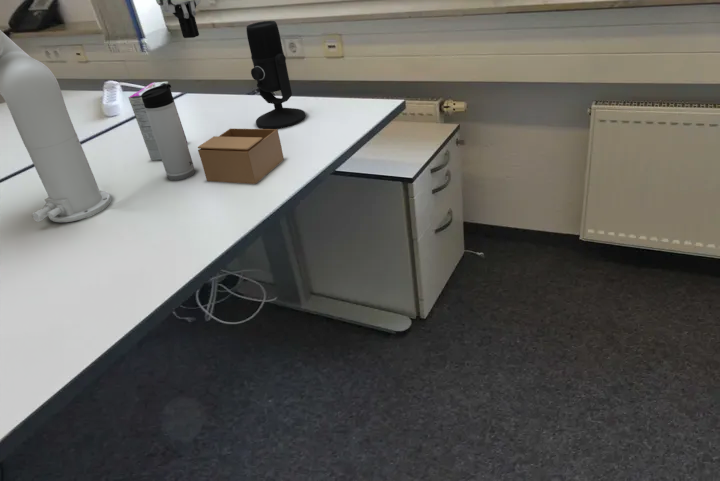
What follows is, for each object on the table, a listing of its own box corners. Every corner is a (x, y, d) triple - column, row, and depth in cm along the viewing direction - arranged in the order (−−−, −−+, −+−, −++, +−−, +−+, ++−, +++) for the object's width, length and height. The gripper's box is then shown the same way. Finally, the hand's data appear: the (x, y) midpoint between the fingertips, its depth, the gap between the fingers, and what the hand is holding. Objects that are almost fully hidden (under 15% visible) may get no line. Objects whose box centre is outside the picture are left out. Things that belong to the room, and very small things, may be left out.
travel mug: (202, 171, 130) (176, 85, 120) (177, 183, 126) (148, 94, 116) (187, 166, 134) (161, 82, 124) (162, 177, 130) (133, 91, 120)
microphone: (246, 125, 154) (223, 29, 142) (282, 109, 163) (263, 17, 150) (279, 132, 146) (257, 31, 133) (316, 115, 154) (299, 18, 142)
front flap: (247, 149, 116) (247, 148, 116) (197, 148, 121) (197, 147, 121) (262, 138, 121) (262, 137, 121) (214, 137, 126) (213, 136, 126)
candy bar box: (171, 144, 150) (151, 82, 141) (188, 143, 148) (169, 80, 140) (149, 161, 140) (126, 96, 132) (167, 160, 139) (146, 95, 131)
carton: (255, 184, 120) (247, 151, 116) (207, 181, 125) (197, 150, 121) (284, 159, 130) (277, 129, 126) (237, 157, 135) (230, 128, 131)
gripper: (175, -60, 122) (198, 29, 131) (125, -52, 110) (155, 46, 119) (203, -64, 119) (225, 28, 128) (155, -56, 107) (183, 45, 116)
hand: (191, 36), depth 124 cm, fingers closed
